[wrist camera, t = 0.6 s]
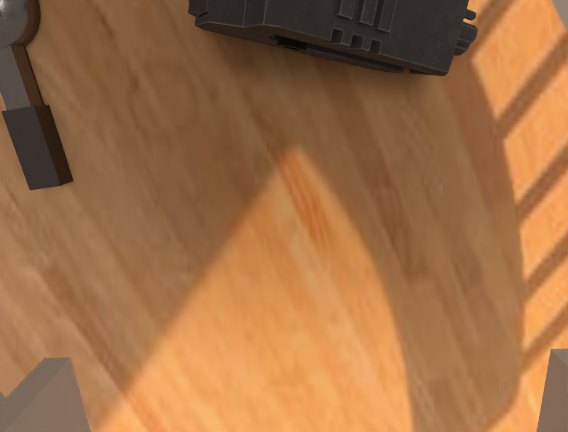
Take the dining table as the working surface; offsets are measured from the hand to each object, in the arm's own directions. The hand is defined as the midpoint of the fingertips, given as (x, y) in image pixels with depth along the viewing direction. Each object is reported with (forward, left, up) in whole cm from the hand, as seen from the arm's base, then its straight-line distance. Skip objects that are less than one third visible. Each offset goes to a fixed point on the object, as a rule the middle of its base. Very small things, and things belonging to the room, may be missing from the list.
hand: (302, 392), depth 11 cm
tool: (-13, +4, -26) cm, 30 cm away
